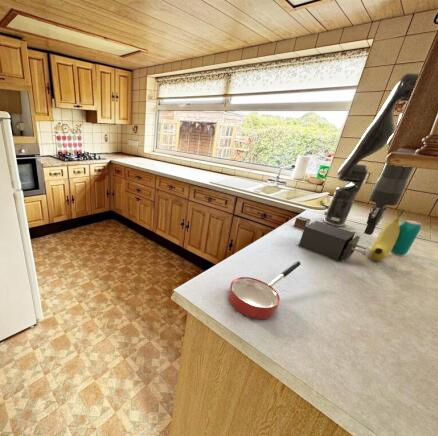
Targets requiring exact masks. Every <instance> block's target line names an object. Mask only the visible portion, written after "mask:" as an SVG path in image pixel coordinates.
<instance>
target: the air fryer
mask: <svg viewBox="0 0 438 436" xmlns="http://www.w3.org/2000/svg"><path fill="white" fill-rule="evenodd" d="M355 235H356V232H354V231H351V230H348V229H344V228H342V227H339V226H333V225H330V224H327V223H325V222H321V221H319V220H315V221H313V222H311V223H309V225H307V226H305V228H304V230H302V234H301V237H300V240H299V243H298V247H299V248H301V249H305V250H308V251H310V252H312V253H315V254H318V255H320V256H323V257H325V258H328V259H331V260H333V261H336V262H339V260H341V258H342V256H343V254H344V252H345V251H344V252H343V253H342V254H341V252H342V250H343V247H344V245H345V243H346V241H347V240H348V239H350V238H351V239H350V241H351V240H352V239H354V238H355ZM350 241H349V242H350ZM340 254H341V255H340Z"/></svg>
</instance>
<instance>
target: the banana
mask: <svg viewBox="0 0 438 436" xmlns="http://www.w3.org/2000/svg"><path fill="white" fill-rule="evenodd" d="M404 210H405V209H404V208H399V209H398V210H397V212H396V216H395V218H394V219H393V220H392V221H390V222H389V223H387V224H385V226H383V227H382V228H381V230H380V232H379V234H378V235H377V237H376V239H375V241H374V242H373V244H372V246H371V247H370V249H371V250H370V251H369V252H368V255H369V259H371V260H373V261H376V262H382V261H384V260H385V259H386V258H387V257H388V256H390V254H391V250H392V248H393V246H394V244H395V242H396V240H397V238H398V236H399V233H400V222H399V221H400V217H402V216H403V213H404Z"/></svg>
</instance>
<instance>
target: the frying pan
mask: <svg viewBox="0 0 438 436" xmlns="http://www.w3.org/2000/svg"><path fill="white" fill-rule="evenodd" d="M300 266H301V262H300V261H299V260H296V261H295V262H294V263H292V264H291V265H290V266H289V267H287V268H286V269H285V270H284V271H282V272H280V274H279V275H278V276H277V277H275V279H273V280H272V281H271V282H270V283H269V284H268V283H266V282H264V281H263V280H260V279H257V278H254V277H248V276H241V277H236V278H234V279H233V280H232V281H231V283H230V286H229V291H228V296H227V297H228V301H229V302H230V304H231V305H232V307H233V308H234V309H235V310H236V311H238V312H239V313H240V314H242V315H244V316H246V317H248V318H253V319H256V320H268V319H270V318H272V317H274V316H275V314H276V312H277V309H278V308H279V304H280V300H281V298H280V295H279V293H278V292H277V290H275V288H273V287H274V286H275V285H276V284H277V283H279V281H281V280H282V279H285V278H286V277H287V276H288V275H290V274H291V273H293V271H294V270H296V269H297V268H298V267H300Z"/></svg>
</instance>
